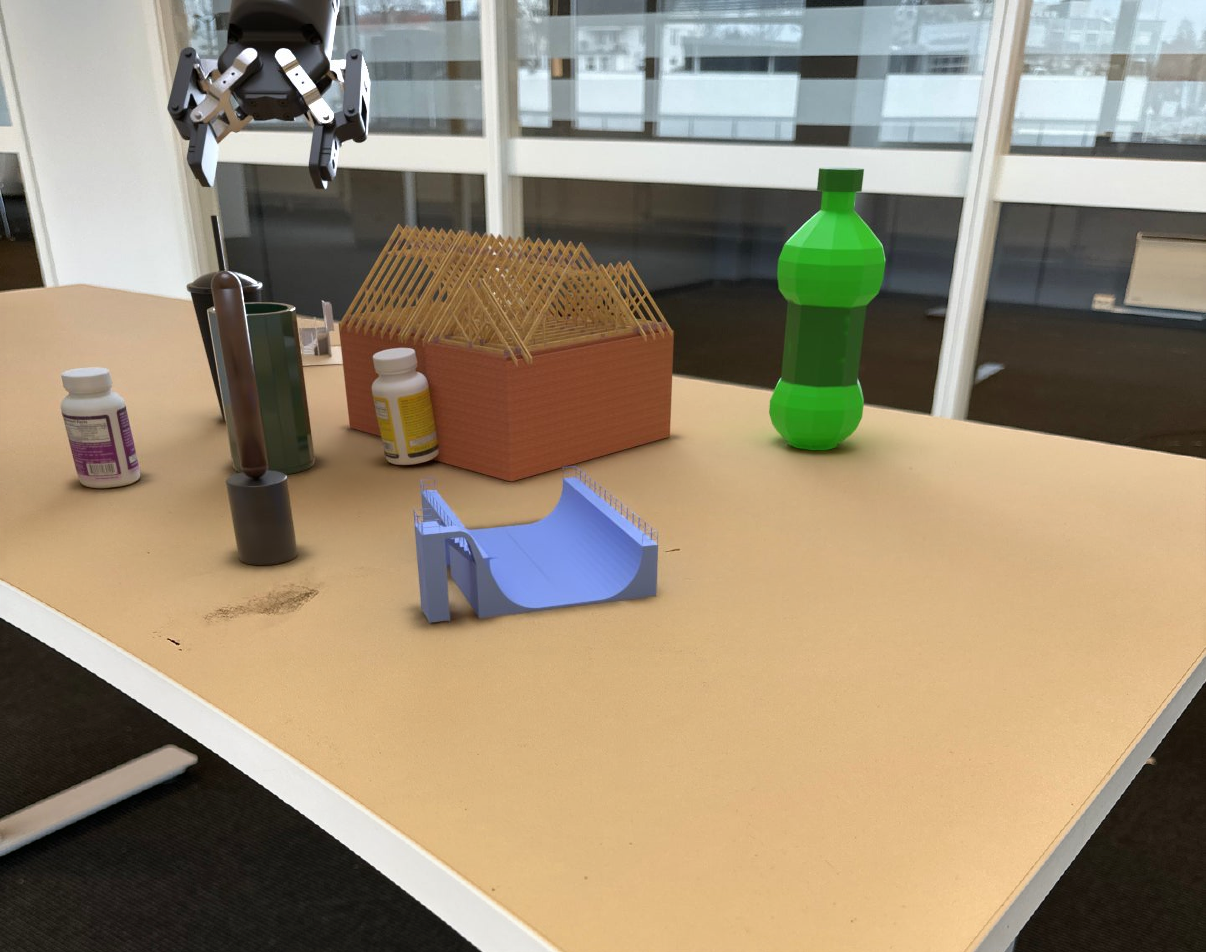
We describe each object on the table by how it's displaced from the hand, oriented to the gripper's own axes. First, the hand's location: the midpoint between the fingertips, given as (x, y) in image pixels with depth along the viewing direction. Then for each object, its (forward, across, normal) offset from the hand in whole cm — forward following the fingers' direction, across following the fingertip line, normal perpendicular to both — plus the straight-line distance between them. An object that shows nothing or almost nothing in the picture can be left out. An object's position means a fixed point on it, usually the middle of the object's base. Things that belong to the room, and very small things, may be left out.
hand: (259, 180), depth 81 cm
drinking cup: (-6, -17, +42) cm, 46 cm away
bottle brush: (+24, 0, +11) cm, 27 cm away
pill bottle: (+12, -21, +24) cm, 34 cm away
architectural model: (-29, -20, +64) cm, 74 cm away
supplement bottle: (+4, +5, +31) cm, 32 cm away
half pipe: (+25, +19, +11) cm, 33 cm away
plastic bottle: (-3, +45, +38) cm, 59 cm away
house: (-3, +12, +39) cm, 41 cm away
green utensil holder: (+7, -8, +29) cm, 30 cm away
